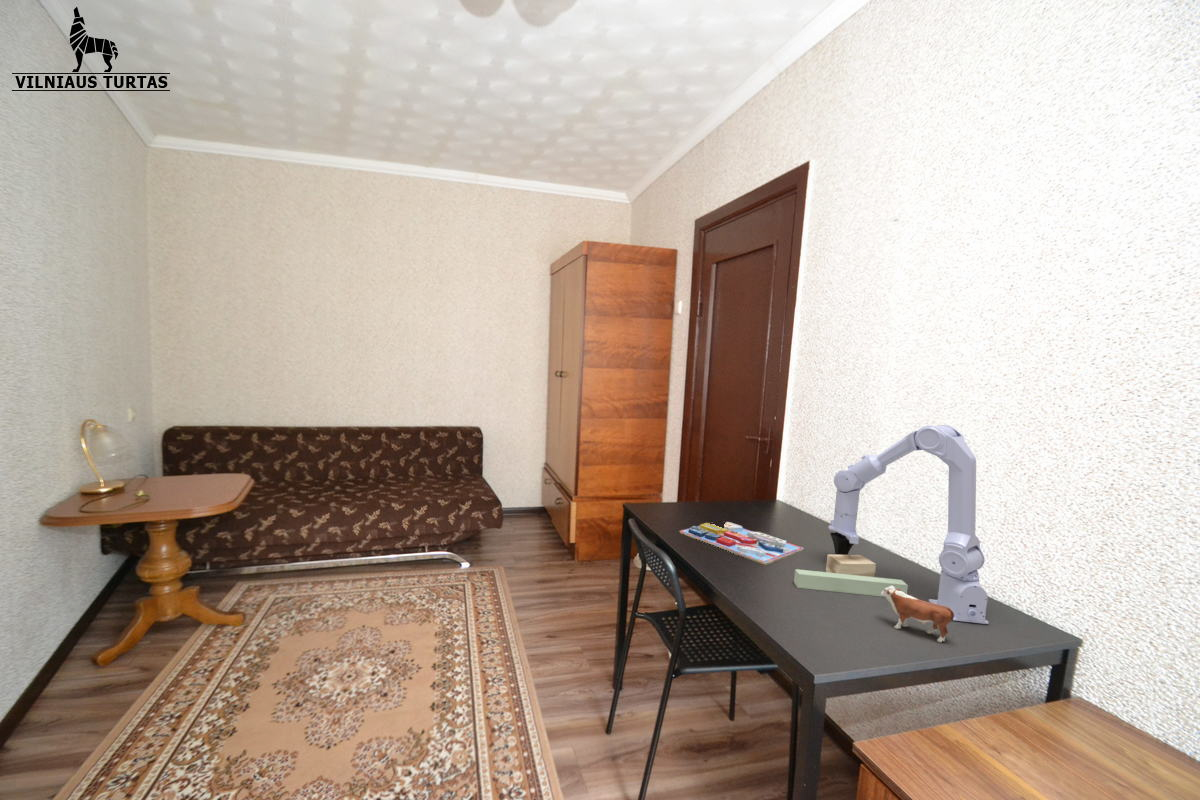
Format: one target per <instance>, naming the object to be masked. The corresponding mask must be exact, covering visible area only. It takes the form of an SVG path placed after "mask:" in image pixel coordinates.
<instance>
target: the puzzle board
mask: <svg viewBox="0 0 1200 800" xmlns="http://www.w3.org/2000/svg"><path fill="white" fill-rule="evenodd" d="M710 523H711V522H705V523H701V524H699V525H697V526H696V525H693V526H690V527H689V528H685V529H681V530H679V531H678V532H679V534H681V535H683V534H684V536H687V537H688V538H692V539H693V540H696V539H697V540H696V541H699V540H700V541H699V542H702V541H703V542H702V543H704V542H705V544H707V543H708V544H707V545H709V544H711V545H710V546H712V545H714V546H713V547H715V546H716V547H715V548H717V547H719V548H718V549H720V548H721V549H720V550H722V549H724V550H723V551H725V550H727V551H726V552H728V551H729V552H728V553H730V552H731V554H733V553H734V554H733V555H736V556H738V555H739V556H738V557H741V556H742V557H741V558H743V557H744V559H747V560H749V561H752V562H754V563H757V564H759V565H762V566H765V567H766V566H768V565H771V564H774V563H776V562H778V561H781V560H784V559H786V558H788V557H790V556H792V555H795V554H798V553H800V552H802V551H804V550H805V548H804V547H801V546H800V545H796V544H793V543H790V542H787V539H785V538H782V537H778V536H776V535H772V534H769V533H767V532H763V531H753V530H750V529H746V528H744V527H743V525H740V524H737V523H734V522H731V521H726V522H725V524H724V528H722V527H719V526H716V525H715V524H710Z"/></svg>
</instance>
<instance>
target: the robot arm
mask: <svg viewBox="0 0 1200 800" xmlns="http://www.w3.org/2000/svg"><path fill="white" fill-rule="evenodd" d="M914 451H915V452H916V451H924V452H926V453H928V454H931V455H933V456H936V457H937V458H938V459H940V461H942V462H944V464H946V465H947V466H948V495H947V496H948V505H947V507H948V508H947V510H948V513H947V534H946V537H945V539H944V541H943V548H942V551H941V552H940V554H939V556H938V563H939V566H940V567H941V569H940V577H939V585H938V592H937V599H931V598H929V599H928V602H930V603H934V604H938V605H942V606H946V607H949V608H950V609H951V610H952V611H953V613H954V618H953V620H952V621H956V622H966V623H974V624H983V625H988V624H989V621H988V620H987V619H986V614H987V613H986V612H987V606H988V605H987V604H988V593H987V592H986V590H985V589H984V588H983V586H981V584H980V575H979V574H980V573H979V571H978V570H980V569H981V568H982V567H983V566H984V564H985V561H986V560H985V559H986V558H985V554H984V553H983V551H982V550H981V542H980V539H979V538H978V536H977V535H976V523H977V522H976V516H977V515H976V514H977V513H976V512H977V511H976V509H977V507H976V506H977V505H976V504H977V500H976V499H977V496H976V495H977V458H976V456H975V454H974V453H973V451H972V450H971V448H970V447H969V445H968V444H967V442H966V441H965V438H964V434H963V433H961V432H960V431H958V430H957V429H955V428H954V427H952V426H951V425H946V424H941V425H925V426H921V427H920V428H919V429H918V430H915V431H912V432H910V433H909V434H907V435H905V436H904V437H903V438H902V439H900V440H898V441H897V442H896V443H894V444H893V445H891V446H890V447H888V448H886V450H884V451H883V452H881V453H880V454H878V455H876V454H869V455H868V454H864V455H863V456H862V457H861V458H860V459H861V460H859V461H858V462H856V463H855V464H849V465H848V467H847V470H845V469H842V470H838V472H837V473H835V475H834V477H833V484H834V486H835V488H836V494H835V500H834V501H835V503H834V511H833V513H834V514H833V519H830V522H829V525H828V527H827V528H828V530H830V531H834V532H830V533H829V534H830V537H831V539H832V543H833V547H834V555H849V553H850V550H851V549H852V548H853V546H854V545H859V542H860V537H859V536H858V533H857V530H856V529H857V519H858V512H859V511H858V510H859V503H860V502H859V501H860V494H861V490H863V489H864V488H865V486H866V484H868V483H870V482H871V481H873V480H875V479H876V478H878V477H880V476H882V475H883V474H885V473H886V471H887V468H888V467H887V466H889V465H890V464H892V463H894V462H896V461H898V460H899V459H902V458H904V457H905V456H908V455H909V454H911V453H913V452H914Z"/></svg>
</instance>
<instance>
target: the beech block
mask: <svg viewBox="0 0 1200 800" xmlns="http://www.w3.org/2000/svg"><path fill="white" fill-rule="evenodd" d="M876 567H877V563H875V562H873V561H872V560H871V559H869V558H867V557H865V556H863V555H861V554H848V555H835V554H827V557H826V566H825V572H828V573H838V574H848V575H857V576H867V577H876V576H875V574H876V569H877V568H876Z"/></svg>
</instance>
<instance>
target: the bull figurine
mask: <svg viewBox="0 0 1200 800" xmlns="http://www.w3.org/2000/svg"><path fill="white" fill-rule="evenodd" d="M881 595H882V596H885V597H884V598H885V599H886V600H887V601H888V602H889V603H890V605H891V608H892V610H893V611H894V612H895V614H896V615H897V616H898V617H899V618H898V622H897V623H896V625H894V626H893V628H894V629H895V630H900V629H902V627H904V628H905V627H906V628H907V627H909V622H908V619H913V620H916V621H918V622H920V624H921V625H922V626H923V625H925V624H927V623H933V625H932V627H931V628H929V629H927V630H926V631H925V633H926V634H928V635H931V634H933V635H934V634H935V632H936V631H937V630H938V629H939V632H940V634H939V635H940V636H939V637H938V638H937V639H936V641H937V642H938V643H939V644H941V643H942V642H945V640H946V637H947V634H948V633H949V631H948V628H947V627H948V625H949V624H950V622H952V621H954V620H953V618H954V613H953V611H952V610H951V609H950V608H949V607H946V606H942V605H938V604H934V603H930V602H929V601H925V600H922V599H919V598H917V597H914V596H913V595H910V594H908V593H907V594H905V593H904V592H902V591H900V589H895V587H894V586H889V587H887V588H885V589H884V590H883V591H882V592H881ZM882 596H881V597H882Z"/></svg>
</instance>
